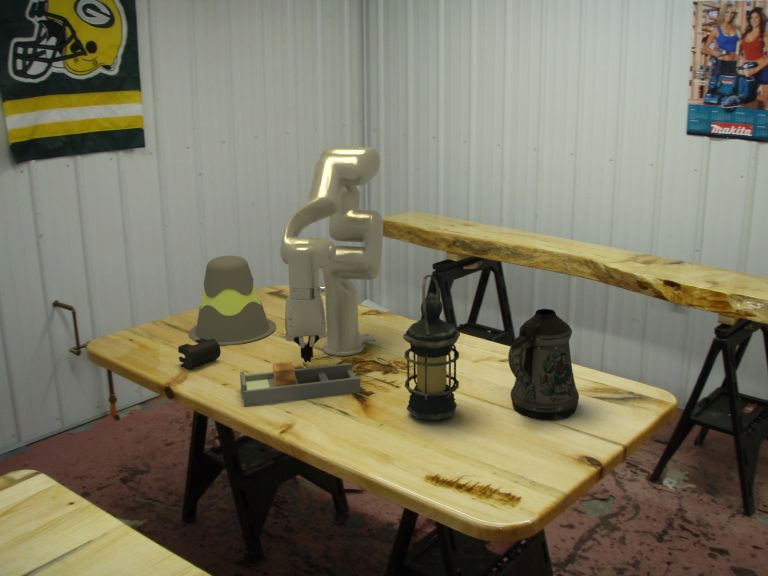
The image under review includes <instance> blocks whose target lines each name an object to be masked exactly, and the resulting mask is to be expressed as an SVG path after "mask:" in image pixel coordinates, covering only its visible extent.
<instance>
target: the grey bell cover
mask: <svg viewBox="0 0 768 576" xmlns="http://www.w3.org/2000/svg"><path fill="white" fill-rule="evenodd" d="M201 297H202V298H201V304H200V307H199V309H198V316H197V322H196V325H195V326H193V327H192V328H191V329H190V330H189V332H188V338H189V339H190V340H192V342H195V341H196V340H199V339H202V338H203V339H206V340H210V339H215V340H216V341H217V342H218V344H219V346H236V345H243V344H249V343H253V342H257V341H259V340H262V339H264V338H268V337H269V336H271V335H272V334H273V333H274V332H275V331H276V330H277V324H276V323H275V321H274V320H272V319H269V318H267V315H266V311H265V309H264V306H263V304H262V301H261V300H260V298H259V294H258V292H257V289H256V286H255V283H254V278H253V274H252V272H251V269H250V266H249V263H248V261H247V260H246V259H245V258H244V257H242V256H238V255H221V256H217V257H214V258H212V259H211V260H209V261H208V262H207V264H206V268H205V274H204V281H203V292H202V296H201Z"/></svg>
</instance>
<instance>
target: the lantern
mask: <svg viewBox="0 0 768 576" xmlns="http://www.w3.org/2000/svg"><path fill="white" fill-rule="evenodd" d="M428 278H431V279H432V280H433V282H434V284H435V289H436V294H435V293H433V292H430V293H428V294H427V296H426V285H427V284H426V282H427V279H428ZM439 285H440V284H439V283H438V280H437V279H436V277H435V276H434V275H430V274H428V275H424V276H423V278H422V287H421V288H422V289H421V291H422V292H421V293H422V294H421V297H422V298H421V299H422V300H421V301H422V302H421V304H420V312H421V315H422V316H423V318H422V319H419V320H418V321H417V322H414V323H412V324H411V325H410V326H409V328H407V330H406V331H405V333H404V334H403V336H402V339H403V340H404V341H406V342H407V343H409V345H410V346H409V347H410V348H408V349H407V350H405V351H404V355H403V356H404V358H405V360H406V372H407V373H406V375H407V379H405V381H404V387H405V389H406V390H407V391H408V393H410V395H409V400H408V405H407V407H406V410H407V411H408V412H409V413H410V414H412V415H413V416H414V417H416V418H417V419H420V420H421V419H422V420H428V421H429V420H430V421H438V420H442V419H446V418H449V417H452V416H453V415H454V413H455V411H456V409H457V407H458V404H457V402H456V398H455V394H454V392H456V391H457V390H458V389H459V388H460V387H459V385H460V382H459V380H458V379H457V360H459V359H460V352H459V350H457V347H456V345H455V344H456V343H457V341H458V340H459V338H460V337H461V332H459V331H458V328H457V327H456V326H453V325H452V324H450V323H449V322H446V321H445V320H443V319H441V314H442V312H443V303H442V300H441V290H440V286H439ZM410 352H412V353H413V355H412V357H413V359H412V358H410ZM451 352H453V358H452V356H451ZM447 356H448V357H447ZM447 358H448V360H447ZM410 363H412V364H413V375H411V376H410ZM452 363H453V376H452ZM447 365H448V368H447ZM447 371H448V374H447ZM447 378H448V384H447ZM412 380H413V382H414V384H415V386H414V387H413V388H411V387H410V386H411V385H410V382H411V381H412ZM452 381H453V384H452Z"/></svg>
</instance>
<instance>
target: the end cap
mask: <svg viewBox="0 0 768 576" xmlns="http://www.w3.org/2000/svg"><path fill="white" fill-rule="evenodd" d="M194 342H195V343H196V344H189V343H185V344H181V345H179V346H178V348H177V349H178V350H177V351H178V352H177V353H179V354H181V355H184V356H183V357H182V356H178V360H179V363H181V364H180V367H181V368H183V369H186V370H193V369H196V368H198V367H201V366H204V365H207V364H209V363H212V362H215V361H216V360H218V359H219V357H220V356H221V354H222V353H221V352H222V350H221V345H219V344H218V342H217V341H216V340H215V339H210V340H206V339H203V338H202V339H199V340H196V341H194Z"/></svg>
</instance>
